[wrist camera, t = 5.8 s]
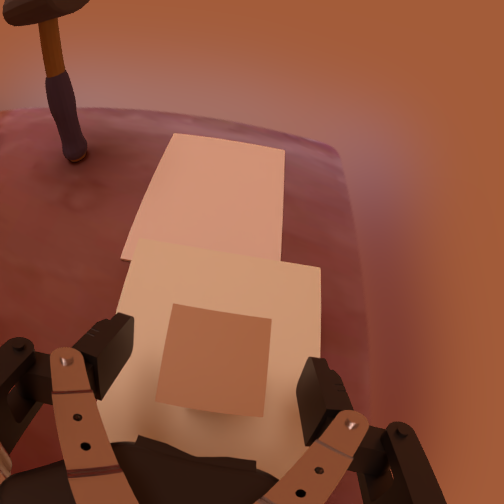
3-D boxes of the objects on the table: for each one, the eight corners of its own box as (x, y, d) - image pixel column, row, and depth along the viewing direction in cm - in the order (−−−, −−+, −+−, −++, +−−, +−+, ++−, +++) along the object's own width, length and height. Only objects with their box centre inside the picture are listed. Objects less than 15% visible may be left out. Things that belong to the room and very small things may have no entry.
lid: (293, 509, 14) (385, 582, 3) (100, 481, 13) (2, 532, 2) (309, 281, 24) (384, 176, 13) (144, 254, 23) (111, 128, 12)
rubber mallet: (121, 151, 37) (105, -50, 11) (87, 184, 33) (44, -37, 7) (71, 134, 38) (45, -28, 12) (40, 163, 34) (-4, -8, 8)
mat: (278, 286, 30) (279, 285, 29) (121, 259, 28) (120, 258, 28) (284, 152, 41) (284, 150, 41) (174, 135, 40) (174, 133, 40)
